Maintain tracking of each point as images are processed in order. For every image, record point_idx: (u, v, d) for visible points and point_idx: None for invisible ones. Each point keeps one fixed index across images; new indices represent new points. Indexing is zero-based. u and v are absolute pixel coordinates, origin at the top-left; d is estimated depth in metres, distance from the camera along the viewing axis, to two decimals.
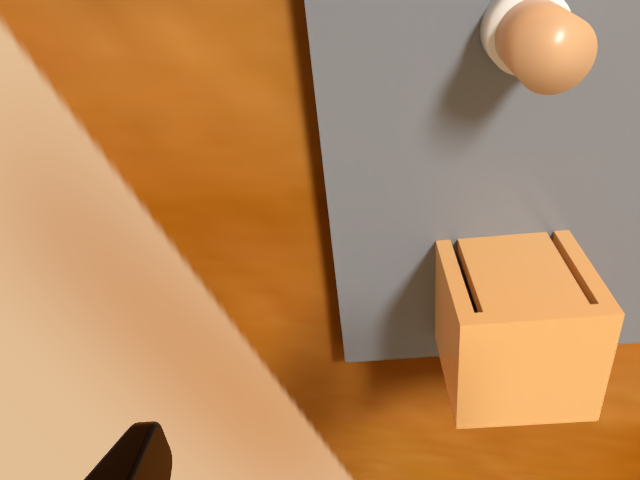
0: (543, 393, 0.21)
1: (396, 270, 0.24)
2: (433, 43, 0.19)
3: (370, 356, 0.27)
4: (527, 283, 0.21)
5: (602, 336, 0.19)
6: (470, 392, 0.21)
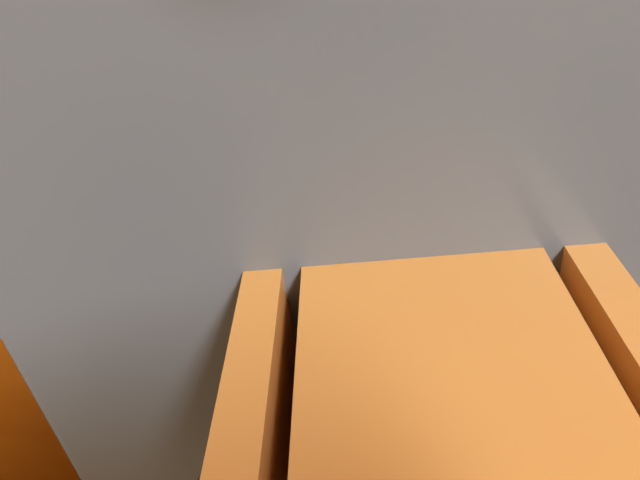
0: None
1: (160, 344, 0.10)
2: None
3: None
4: (472, 437, 0.06)
5: None
6: None
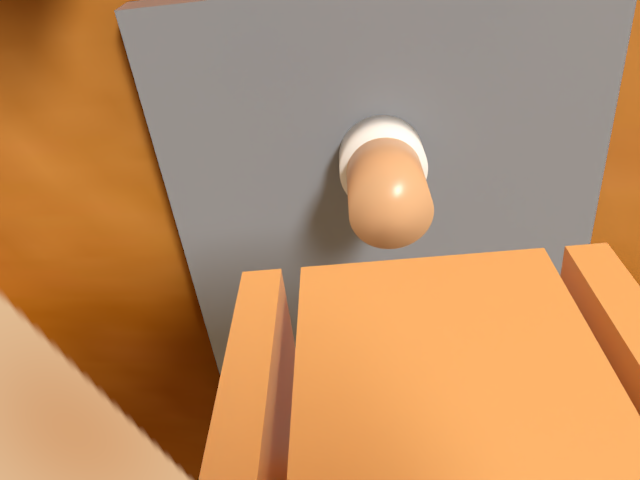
0: None
1: None
2: (291, 170, 0.18)
3: None
4: (472, 438, 0.06)
5: None
6: None
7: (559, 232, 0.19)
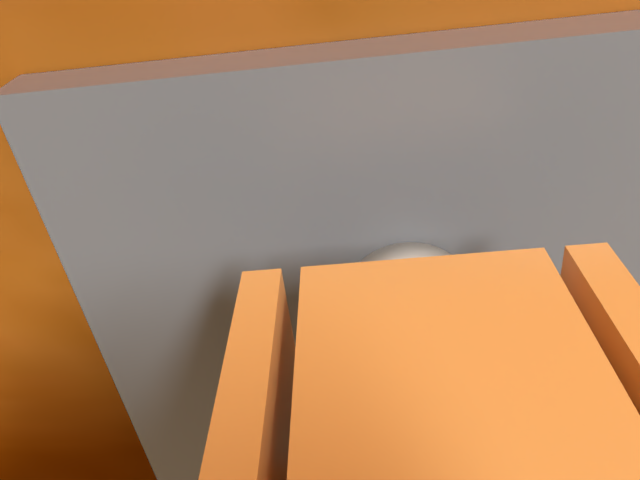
0: None
1: None
2: None
3: None
4: (472, 437, 0.06)
5: None
6: None
7: None
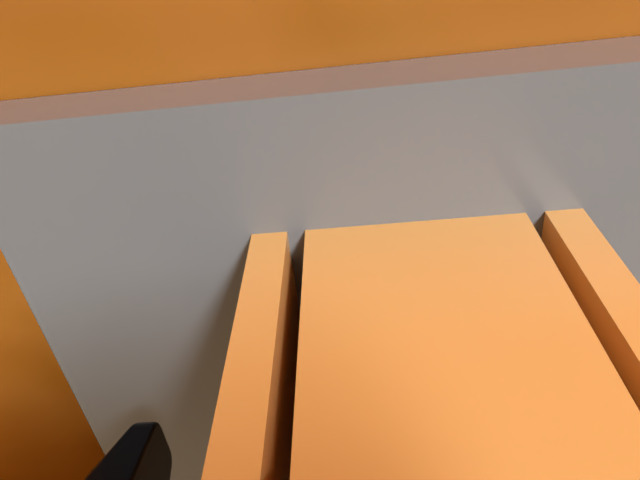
0: None
1: None
2: None
3: None
4: (457, 365, 0.07)
5: None
6: None
7: None
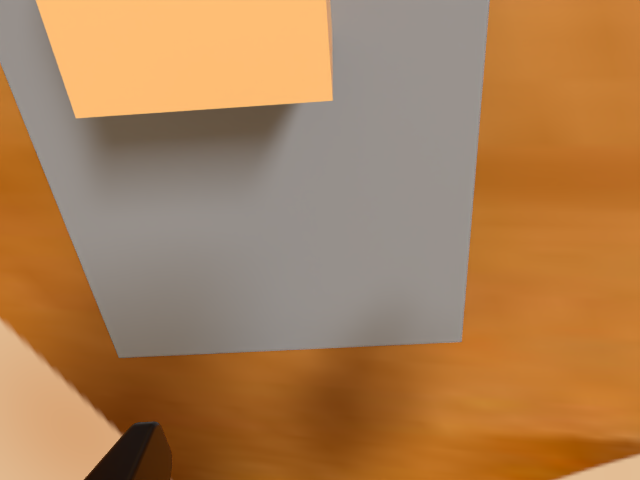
0: (208, 19, 0.11)
1: (148, 249, 0.20)
2: None
3: (146, 351, 0.23)
4: None
5: None
6: (65, 14, 0.11)
7: (446, 51, 0.16)
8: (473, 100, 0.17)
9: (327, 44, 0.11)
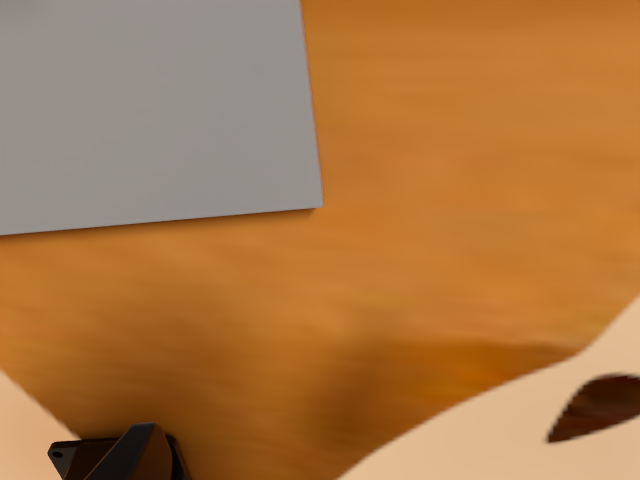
0: None
1: None
2: None
3: None
4: None
5: None
6: None
7: None
8: None
9: None
